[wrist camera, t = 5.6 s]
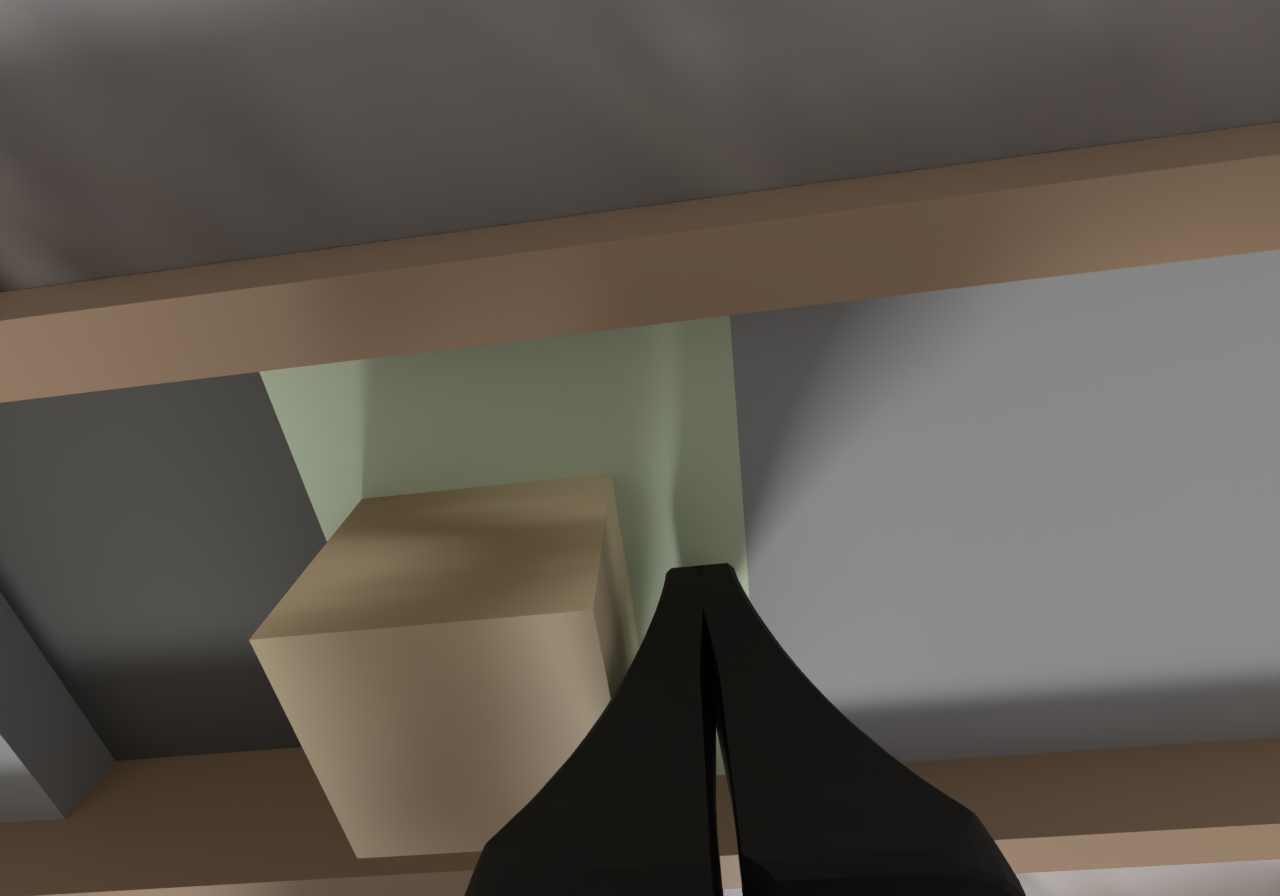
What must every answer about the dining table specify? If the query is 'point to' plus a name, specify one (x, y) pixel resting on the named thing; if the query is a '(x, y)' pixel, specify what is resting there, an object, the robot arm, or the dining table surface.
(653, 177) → the dining table surface
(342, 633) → the wood block
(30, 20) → the dining table surface
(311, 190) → the dining table surface
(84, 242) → the dining table surface
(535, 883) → the robot arm
